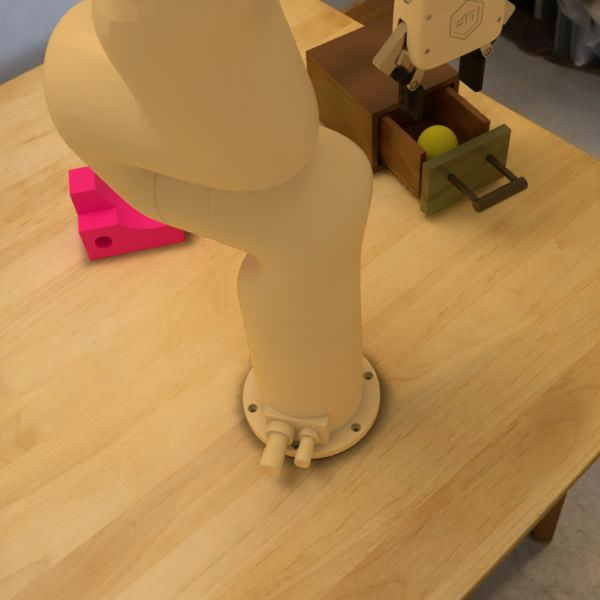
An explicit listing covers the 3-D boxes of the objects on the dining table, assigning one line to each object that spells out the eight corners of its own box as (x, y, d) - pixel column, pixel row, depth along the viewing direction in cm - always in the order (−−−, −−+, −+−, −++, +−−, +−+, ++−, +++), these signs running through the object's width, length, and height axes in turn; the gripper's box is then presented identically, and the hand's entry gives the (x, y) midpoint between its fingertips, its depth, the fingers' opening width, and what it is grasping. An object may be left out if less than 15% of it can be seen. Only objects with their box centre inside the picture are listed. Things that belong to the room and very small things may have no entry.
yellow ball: (453, 177, 92) (456, 146, 89) (413, 172, 93) (414, 141, 90) (459, 150, 95) (462, 119, 92) (419, 145, 96) (421, 114, 92)
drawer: (538, 208, 90) (549, 160, 85) (459, 250, 88) (464, 203, 82) (435, 116, 100) (438, 68, 95) (361, 151, 98) (360, 103, 92)
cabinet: (454, 134, 100) (460, 73, 93) (372, 174, 97) (371, 114, 90) (388, 75, 107) (389, 15, 100) (309, 110, 104) (305, 50, 97)
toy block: (90, 260, 91) (70, 211, 86) (87, 219, 95) (68, 169, 89) (227, 233, 92) (217, 183, 87) (219, 193, 96) (209, 142, 90)
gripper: (394, -13, 69) (391, 152, 83) (560, -82, 74) (531, 86, 88) (344, -53, 73) (349, 111, 87) (504, -115, 78) (485, 50, 92)
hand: (440, 97), depth 87 cm, fingers open, 6 cm apart
